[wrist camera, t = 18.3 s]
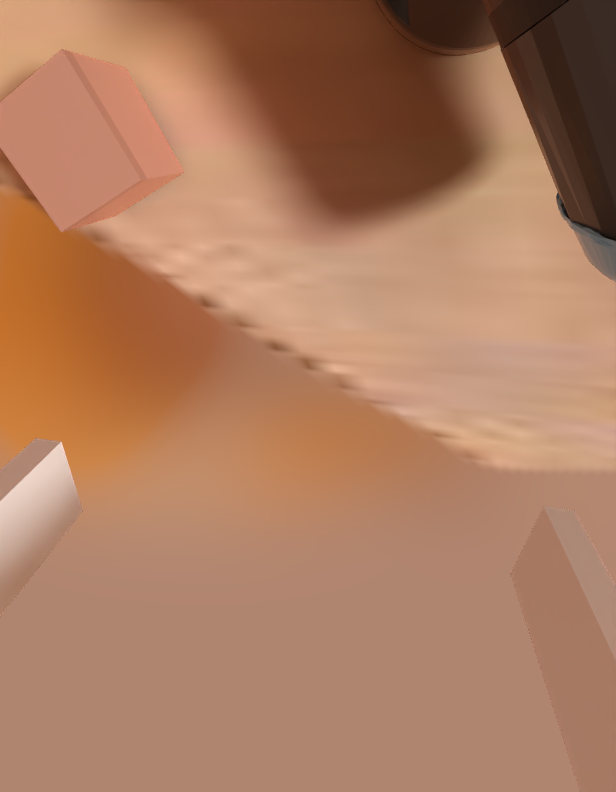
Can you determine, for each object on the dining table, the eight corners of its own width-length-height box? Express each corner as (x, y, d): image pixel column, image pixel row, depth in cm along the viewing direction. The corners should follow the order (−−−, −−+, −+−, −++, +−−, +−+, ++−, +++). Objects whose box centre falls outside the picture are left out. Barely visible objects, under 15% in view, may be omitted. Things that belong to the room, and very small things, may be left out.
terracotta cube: (184, 172, 36) (141, 179, 29) (115, 215, 39) (61, 232, 32) (125, 67, 33) (61, 49, 26) (54, 123, 35) (-21, 119, 29)
